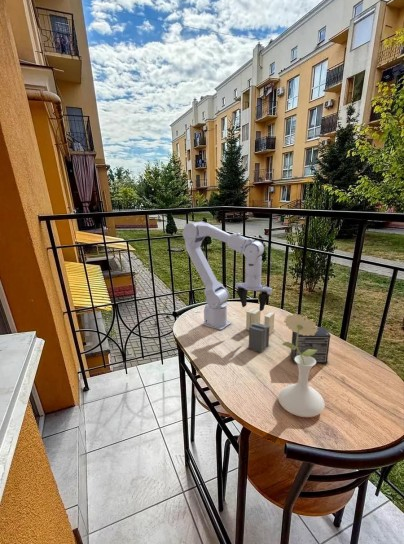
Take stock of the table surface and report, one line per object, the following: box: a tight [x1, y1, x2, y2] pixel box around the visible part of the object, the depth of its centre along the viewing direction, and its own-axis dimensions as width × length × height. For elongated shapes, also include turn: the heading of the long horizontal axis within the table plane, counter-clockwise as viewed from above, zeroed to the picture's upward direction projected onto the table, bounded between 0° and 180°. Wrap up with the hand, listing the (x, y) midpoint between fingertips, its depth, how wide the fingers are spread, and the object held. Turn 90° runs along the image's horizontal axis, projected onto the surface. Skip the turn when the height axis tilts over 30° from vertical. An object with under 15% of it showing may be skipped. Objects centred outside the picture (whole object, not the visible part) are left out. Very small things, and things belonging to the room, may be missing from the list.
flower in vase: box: [277, 313, 326, 418], centre depth 69 cm, size 13×11×25 cm
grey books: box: [248, 323, 270, 353], centre depth 100 cm, size 5×6×9 cm
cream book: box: [263, 311, 275, 336], centre depth 110 cm, size 5×2×8 cm, turn 142°
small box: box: [290, 326, 331, 365], centre depth 92 cm, size 11×6×10 cm, turn 84°
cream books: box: [245, 307, 262, 331], centre depth 115 cm, size 4×5×8 cm
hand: (252, 308), depth 109 cm, fingers open, 7 cm apart
